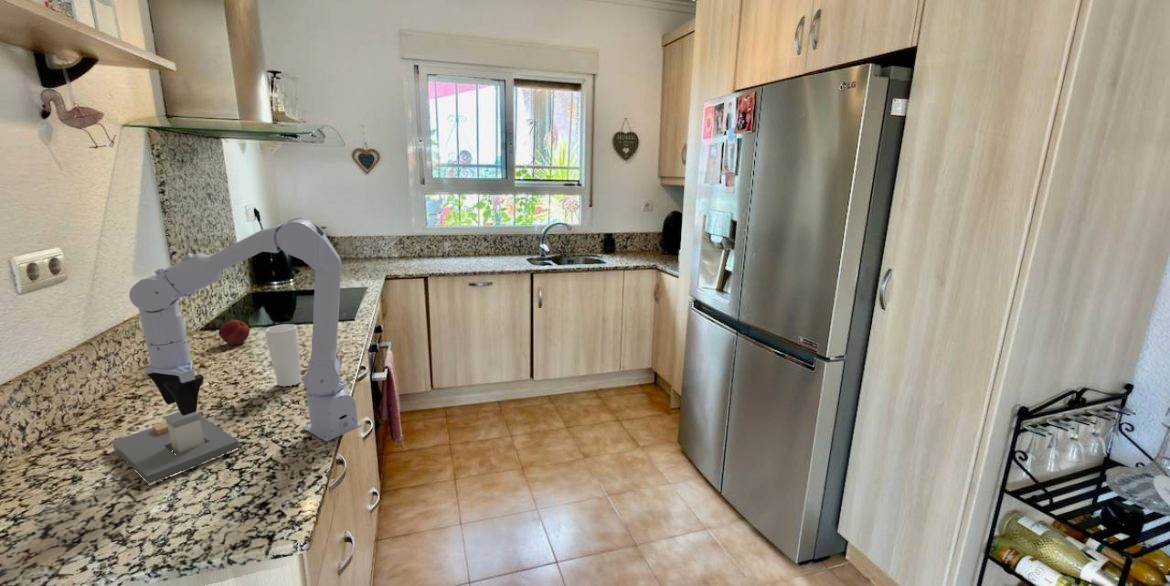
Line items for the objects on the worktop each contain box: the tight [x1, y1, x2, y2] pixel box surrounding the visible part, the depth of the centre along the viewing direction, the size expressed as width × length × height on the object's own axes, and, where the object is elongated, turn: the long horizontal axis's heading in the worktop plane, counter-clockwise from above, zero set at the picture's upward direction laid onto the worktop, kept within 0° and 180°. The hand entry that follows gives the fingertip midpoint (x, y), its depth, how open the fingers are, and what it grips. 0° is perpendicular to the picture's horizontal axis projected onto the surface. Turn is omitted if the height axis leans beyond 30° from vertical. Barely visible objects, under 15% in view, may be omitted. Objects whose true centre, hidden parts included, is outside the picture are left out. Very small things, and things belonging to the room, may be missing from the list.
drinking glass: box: [265, 323, 302, 388], centre depth 125 cm, size 7×7×15 cm
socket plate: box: [111, 413, 240, 483], centre depth 97 cm, size 20×14×3 cm
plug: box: [164, 411, 205, 454], centre depth 96 cm, size 4×4×8 cm
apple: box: [218, 319, 250, 346], centre depth 154 cm, size 7×8×8 cm
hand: (181, 407), depth 94 cm, fingers open, 7 cm apart
